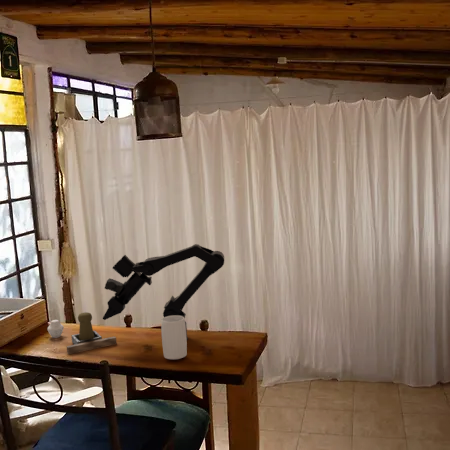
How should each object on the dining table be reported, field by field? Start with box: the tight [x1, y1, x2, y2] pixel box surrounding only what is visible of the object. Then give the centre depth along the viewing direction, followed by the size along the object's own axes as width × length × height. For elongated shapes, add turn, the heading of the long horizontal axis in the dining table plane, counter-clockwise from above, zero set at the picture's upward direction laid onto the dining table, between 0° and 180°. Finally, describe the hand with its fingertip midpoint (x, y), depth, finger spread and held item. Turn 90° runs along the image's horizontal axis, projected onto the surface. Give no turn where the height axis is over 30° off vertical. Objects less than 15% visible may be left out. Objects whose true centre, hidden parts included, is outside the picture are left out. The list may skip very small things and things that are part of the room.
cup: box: [160, 315, 188, 360], centre depth 190 cm, size 8×8×14 cm
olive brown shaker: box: [77, 311, 94, 341], centre depth 210 cm, size 6×6×11 cm
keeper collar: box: [71, 330, 103, 345], centre depth 211 cm, size 9×9×3 cm
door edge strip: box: [66, 336, 117, 355], centre depth 205 cm, size 18×2×2 cm, turn 119°
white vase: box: [47, 319, 64, 339], centre depth 220 cm, size 6×6×7 cm
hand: (106, 315), depth 210 cm, fingers open, 9 cm apart
